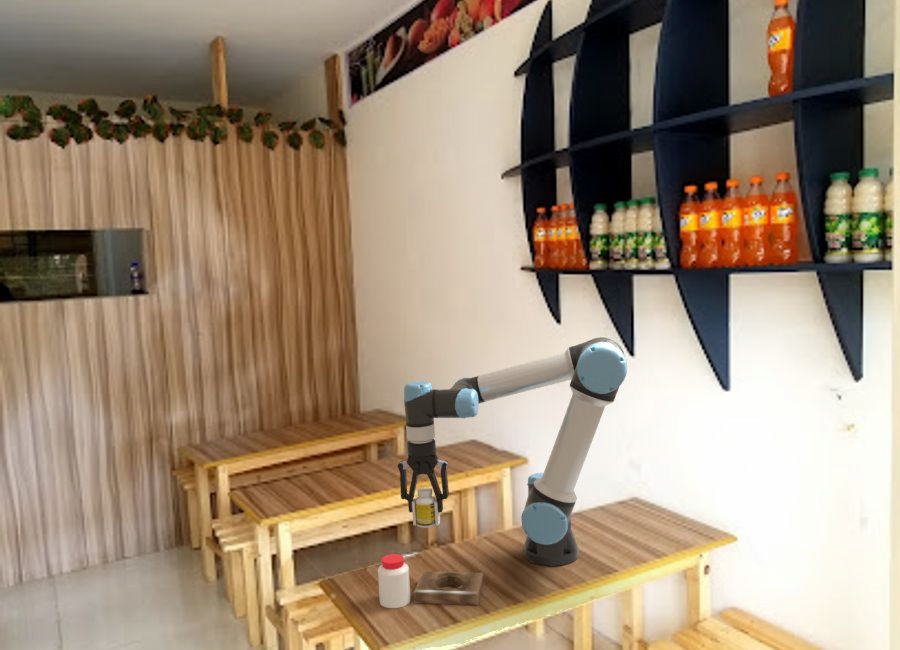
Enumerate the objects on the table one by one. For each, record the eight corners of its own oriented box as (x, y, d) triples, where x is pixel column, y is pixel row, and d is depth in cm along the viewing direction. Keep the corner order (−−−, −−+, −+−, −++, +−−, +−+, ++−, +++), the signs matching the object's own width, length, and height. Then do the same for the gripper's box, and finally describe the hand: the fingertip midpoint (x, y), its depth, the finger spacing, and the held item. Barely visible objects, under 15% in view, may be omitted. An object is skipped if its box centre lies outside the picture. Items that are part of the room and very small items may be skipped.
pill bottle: (385, 611, 172) (382, 568, 171) (375, 597, 179) (373, 555, 178) (415, 603, 175) (412, 561, 174) (404, 590, 183) (402, 549, 181)
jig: (483, 582, 185) (483, 571, 185) (477, 605, 173) (477, 594, 173) (423, 580, 188) (423, 570, 187) (413, 602, 176) (413, 591, 176)
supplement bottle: (434, 528, 189) (432, 493, 188) (414, 528, 190) (412, 492, 189) (438, 521, 194) (436, 486, 193) (419, 520, 195) (417, 486, 194)
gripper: (457, 435, 192) (462, 518, 194) (391, 436, 195) (397, 518, 197) (452, 442, 185) (458, 529, 187) (384, 444, 188) (390, 528, 190)
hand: (426, 523), depth 192 cm, fingers closed on supplement bottle, 5 cm apart
